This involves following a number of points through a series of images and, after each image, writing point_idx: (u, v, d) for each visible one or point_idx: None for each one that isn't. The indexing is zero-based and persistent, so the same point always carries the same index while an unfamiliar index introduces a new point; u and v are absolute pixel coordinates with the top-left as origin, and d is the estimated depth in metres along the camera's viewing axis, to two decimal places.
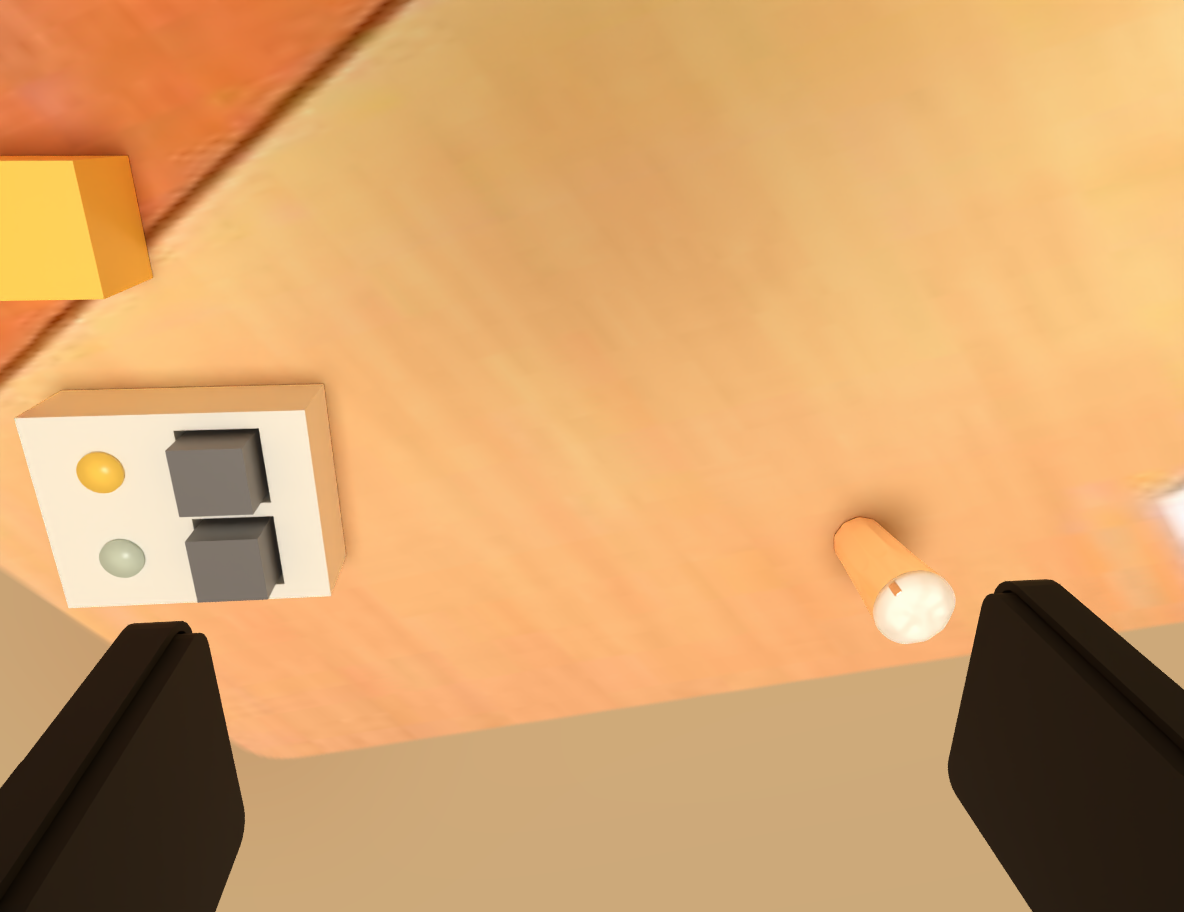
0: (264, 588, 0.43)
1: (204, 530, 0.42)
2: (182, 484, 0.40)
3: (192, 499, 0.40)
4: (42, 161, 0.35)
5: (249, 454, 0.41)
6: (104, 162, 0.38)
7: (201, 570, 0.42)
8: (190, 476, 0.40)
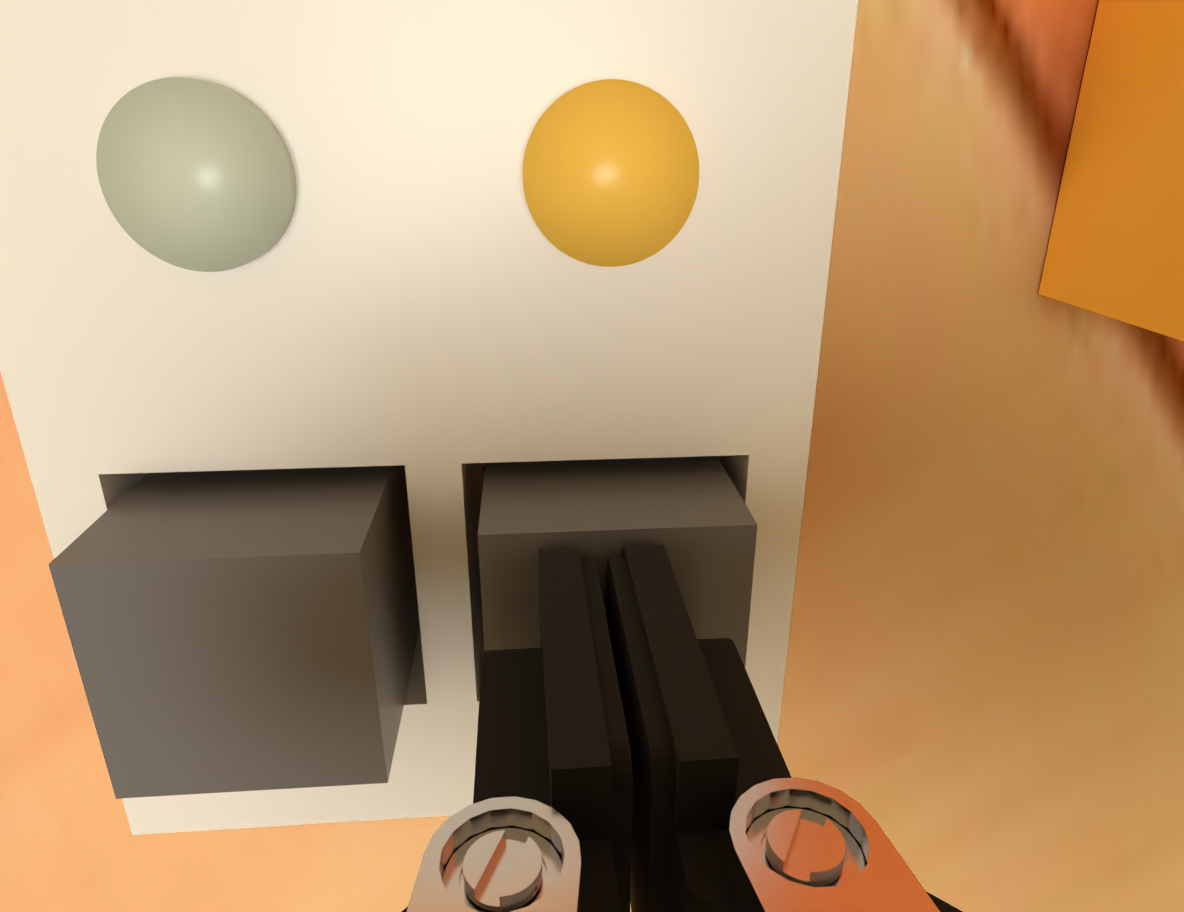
0: (164, 786, 0.11)
1: (381, 547, 0.11)
2: None
3: None
4: None
5: None
6: None
7: (223, 596, 0.10)
8: None
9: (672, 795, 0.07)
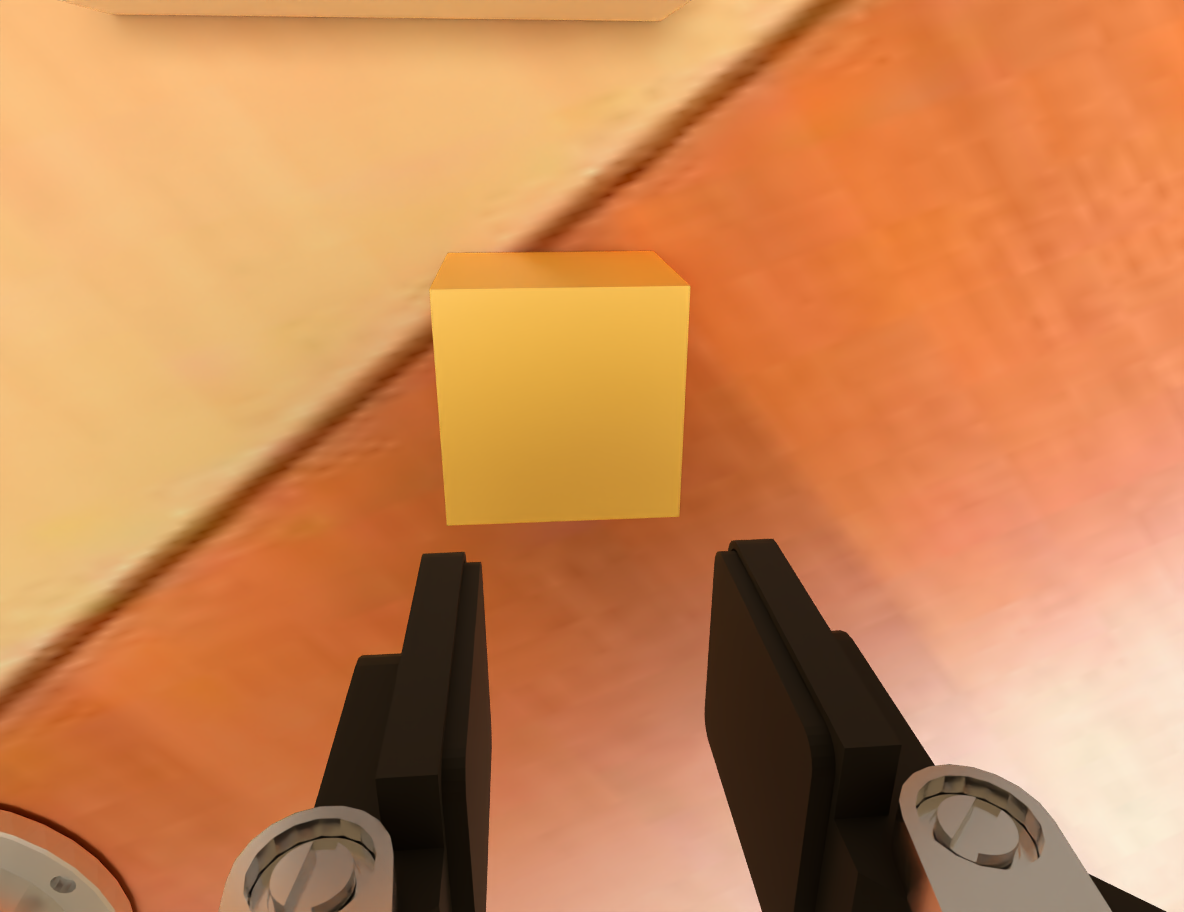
0: None
1: None
2: None
3: None
4: (496, 521, 0.21)
5: None
6: None
7: None
8: None
9: (832, 782, 0.07)
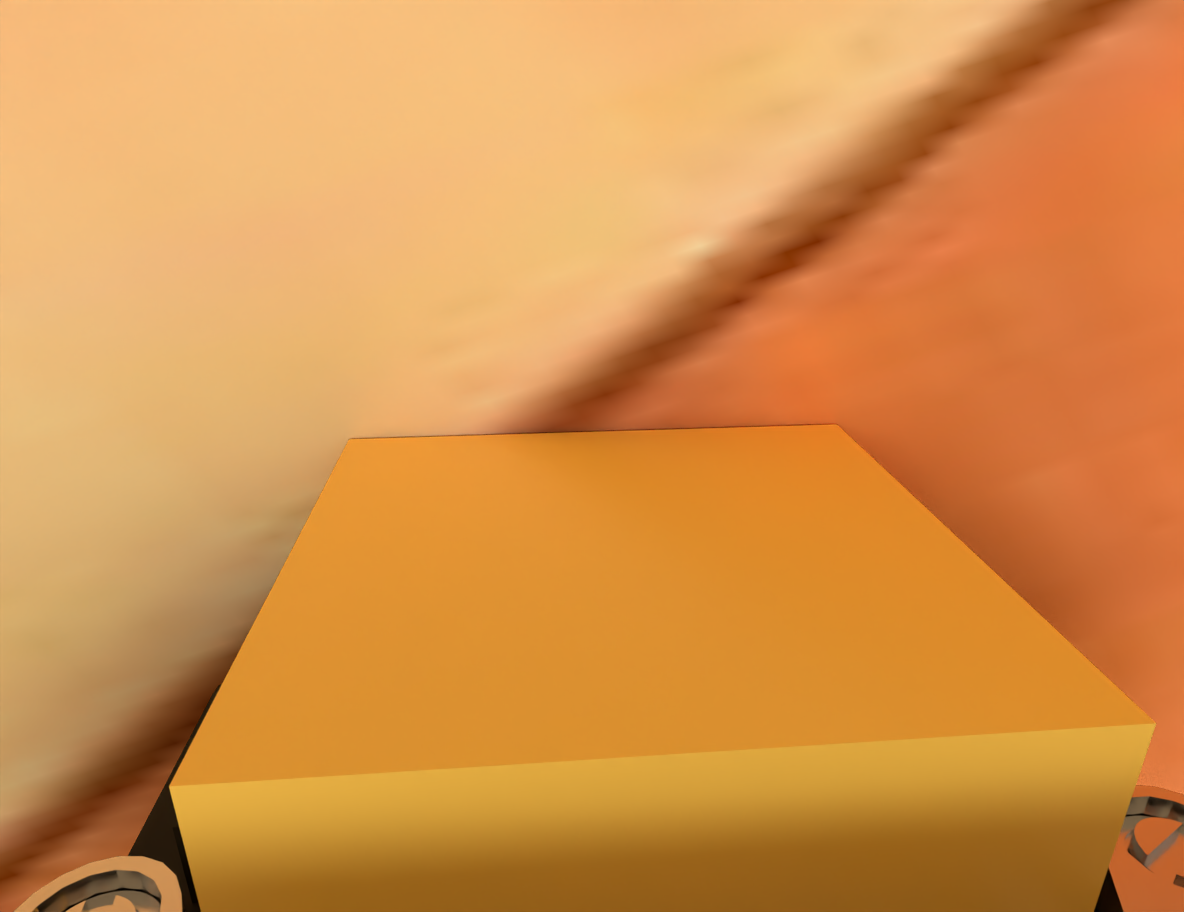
0: None
1: None
2: None
3: None
4: None
5: None
6: None
7: None
8: None
9: None
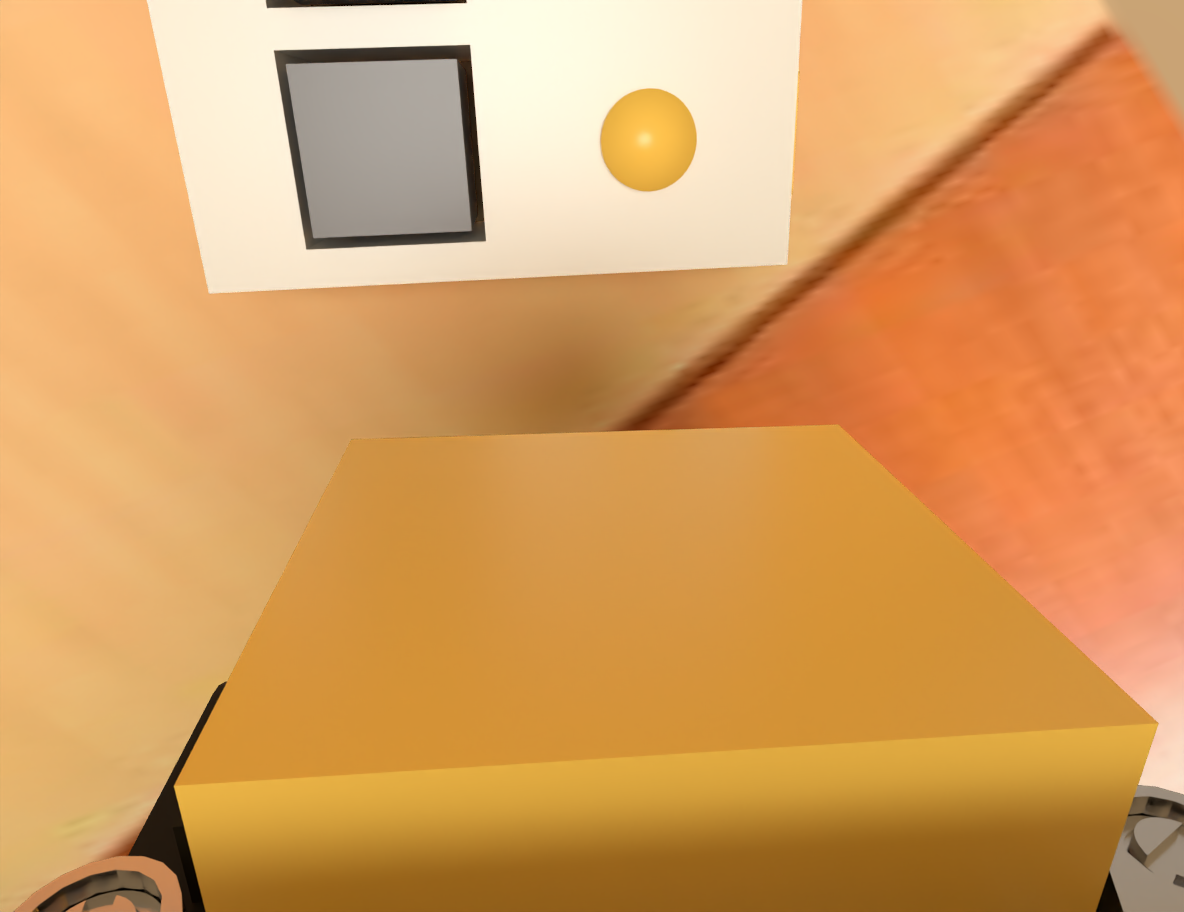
0: None
1: None
2: (442, 148, 0.18)
3: (423, 108, 0.18)
4: None
5: None
6: None
7: None
8: (423, 169, 0.18)
9: None
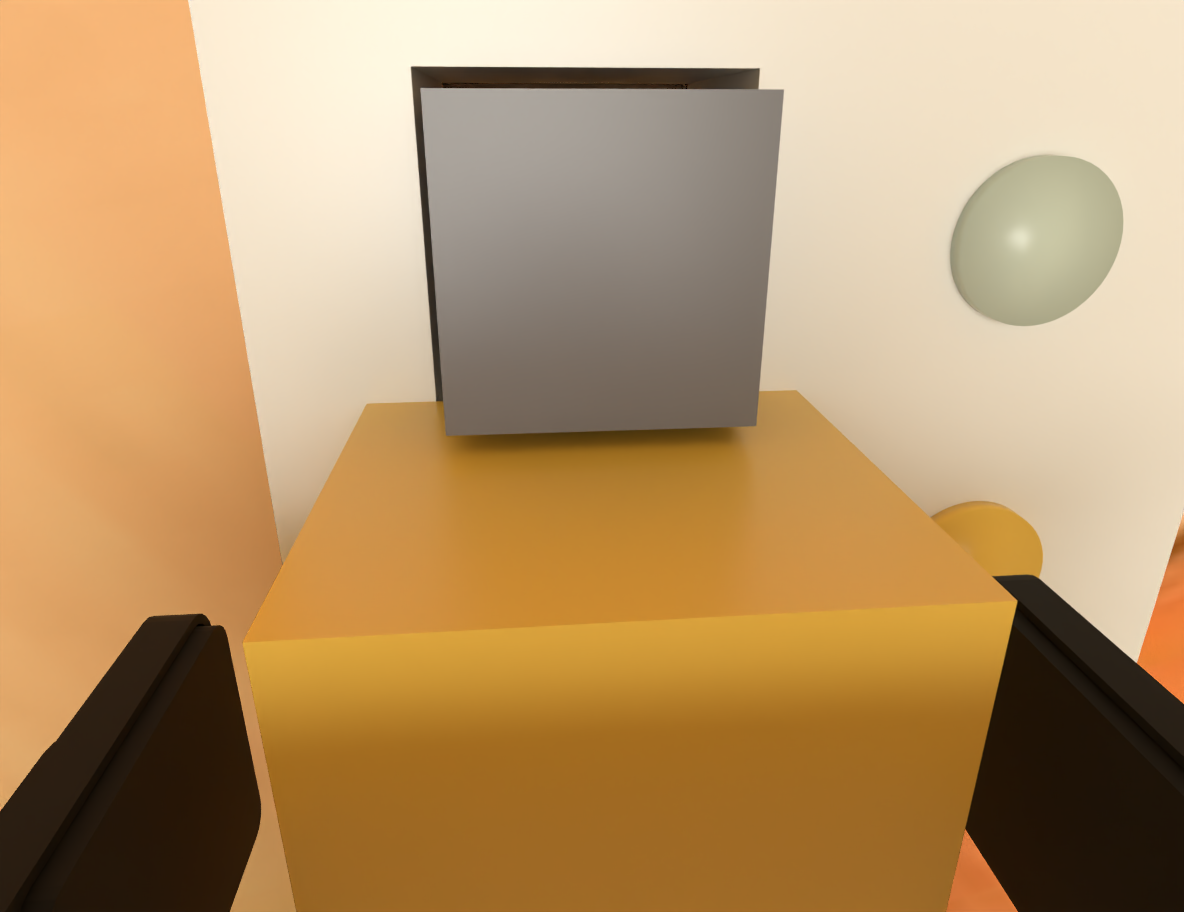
0: (437, 157, 0.08)
1: None
2: None
3: None
4: None
5: None
6: None
7: (720, 281, 0.09)
8: None
9: None
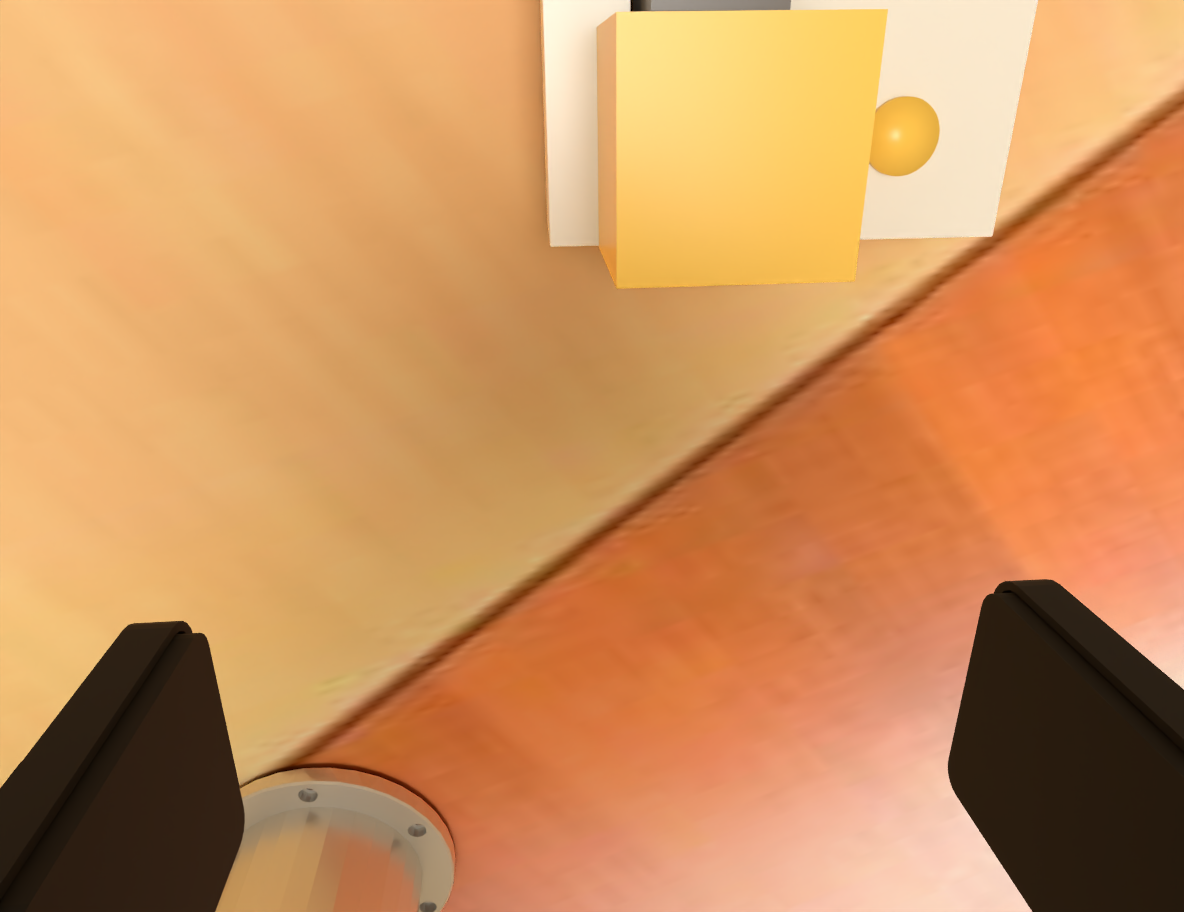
0: None
1: None
2: None
3: None
4: (667, 285, 0.20)
5: None
6: (606, 257, 0.22)
7: None
8: None
9: None
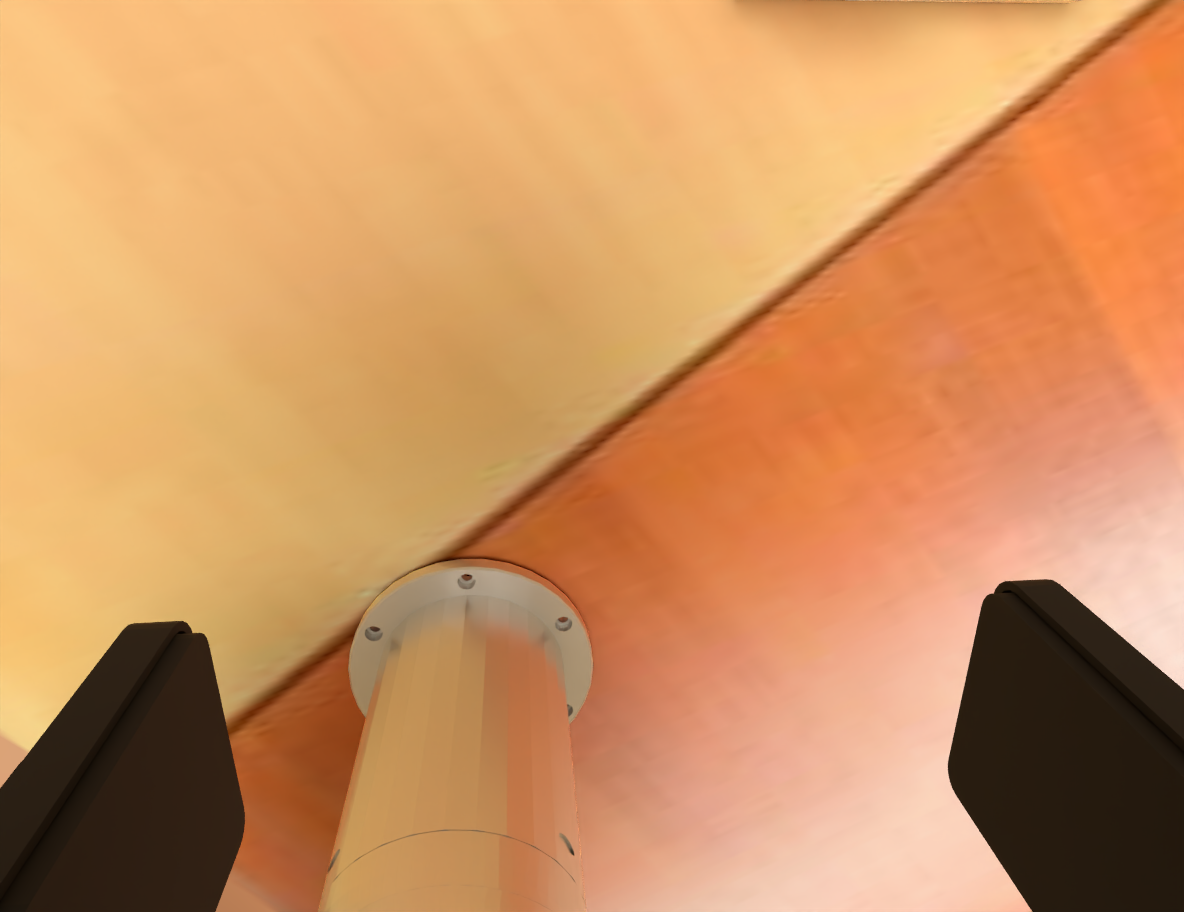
0: None
1: None
2: None
3: None
4: None
5: None
6: None
7: None
8: None
9: None
